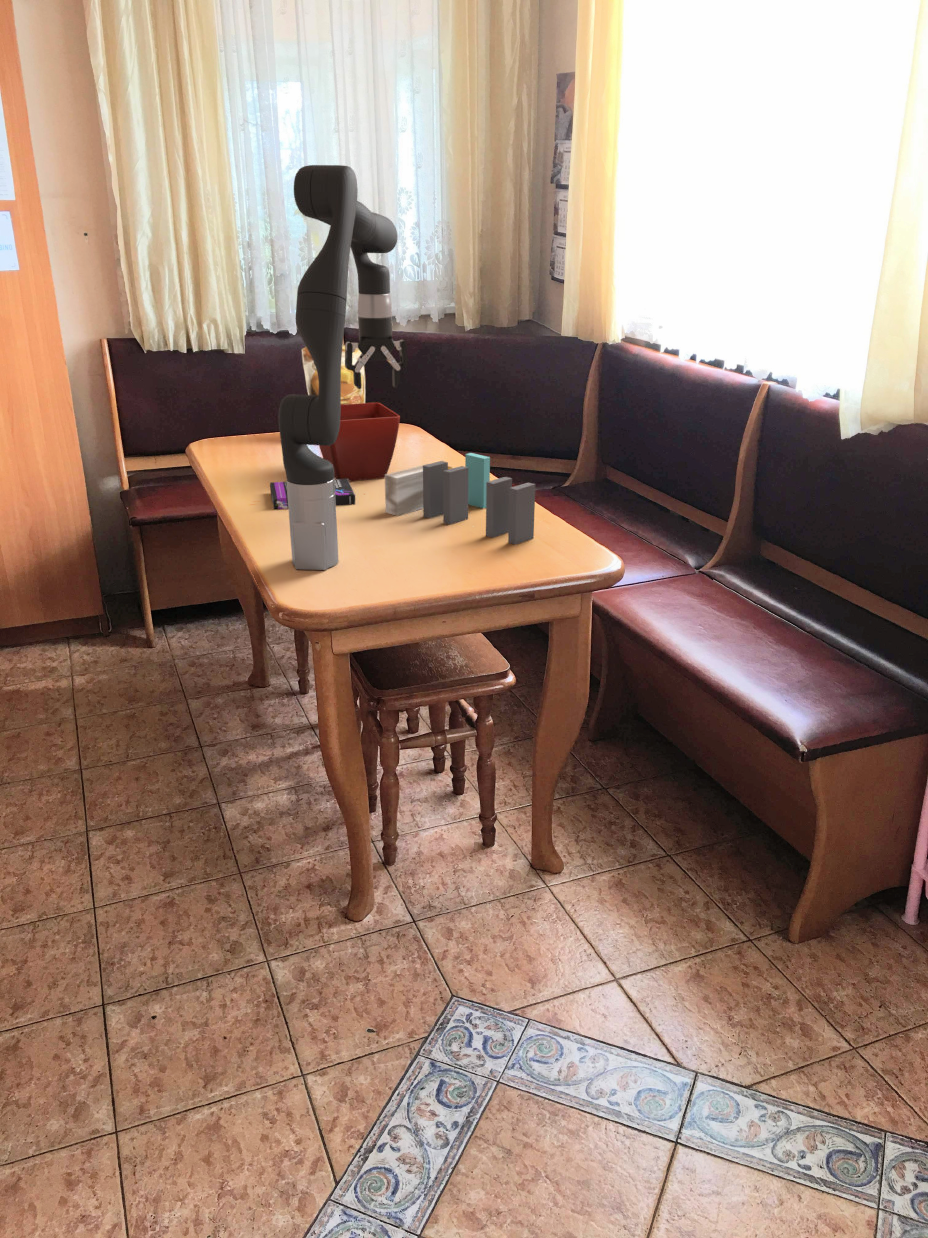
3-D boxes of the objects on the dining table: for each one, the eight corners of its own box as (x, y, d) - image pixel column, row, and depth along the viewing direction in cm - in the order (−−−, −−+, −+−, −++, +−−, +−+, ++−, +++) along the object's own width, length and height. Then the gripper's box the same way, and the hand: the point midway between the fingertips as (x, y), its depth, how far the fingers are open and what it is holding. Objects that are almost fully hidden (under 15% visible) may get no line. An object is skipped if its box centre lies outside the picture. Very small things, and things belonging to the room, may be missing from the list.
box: (273, 513, 227) (356, 506, 231) (272, 498, 226) (355, 492, 230) (271, 495, 240) (349, 489, 244) (269, 482, 238) (348, 476, 242)
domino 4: (510, 531, 213) (512, 478, 208) (492, 537, 209) (493, 483, 204) (504, 529, 214) (505, 476, 209) (485, 535, 210) (486, 481, 205)
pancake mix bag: (304, 441, 290) (298, 345, 279) (365, 436, 296) (362, 342, 285) (309, 446, 284) (303, 348, 273) (371, 441, 291) (368, 345, 279)
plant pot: (402, 480, 251) (401, 415, 244) (330, 487, 244) (327, 421, 238) (380, 463, 267) (379, 401, 260) (313, 469, 261) (309, 406, 254)
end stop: (440, 503, 232) (440, 466, 228) (397, 516, 223) (396, 477, 219) (428, 500, 234) (428, 463, 231) (385, 512, 225) (384, 474, 222)
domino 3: (470, 501, 233) (471, 452, 229) (489, 506, 230) (490, 457, 225) (465, 503, 232) (465, 454, 227) (483, 508, 228) (484, 458, 224)
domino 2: (468, 518, 221) (468, 467, 216) (449, 524, 217) (449, 472, 212) (461, 516, 222) (462, 465, 218) (443, 522, 218) (443, 470, 214)
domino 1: (447, 512, 225) (447, 462, 220) (429, 518, 221) (428, 467, 216) (441, 511, 226) (441, 460, 222) (423, 516, 222) (422, 465, 218)
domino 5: (533, 538, 209) (535, 484, 204) (515, 544, 205) (516, 489, 200) (526, 536, 210) (528, 482, 205) (508, 542, 206) (509, 487, 201)
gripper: (347, 317, 212) (350, 392, 218) (409, 315, 216) (411, 388, 222) (340, 313, 218) (343, 386, 225) (401, 311, 222) (403, 383, 229)
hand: (377, 387), depth 224 cm, fingers open, 8 cm apart
